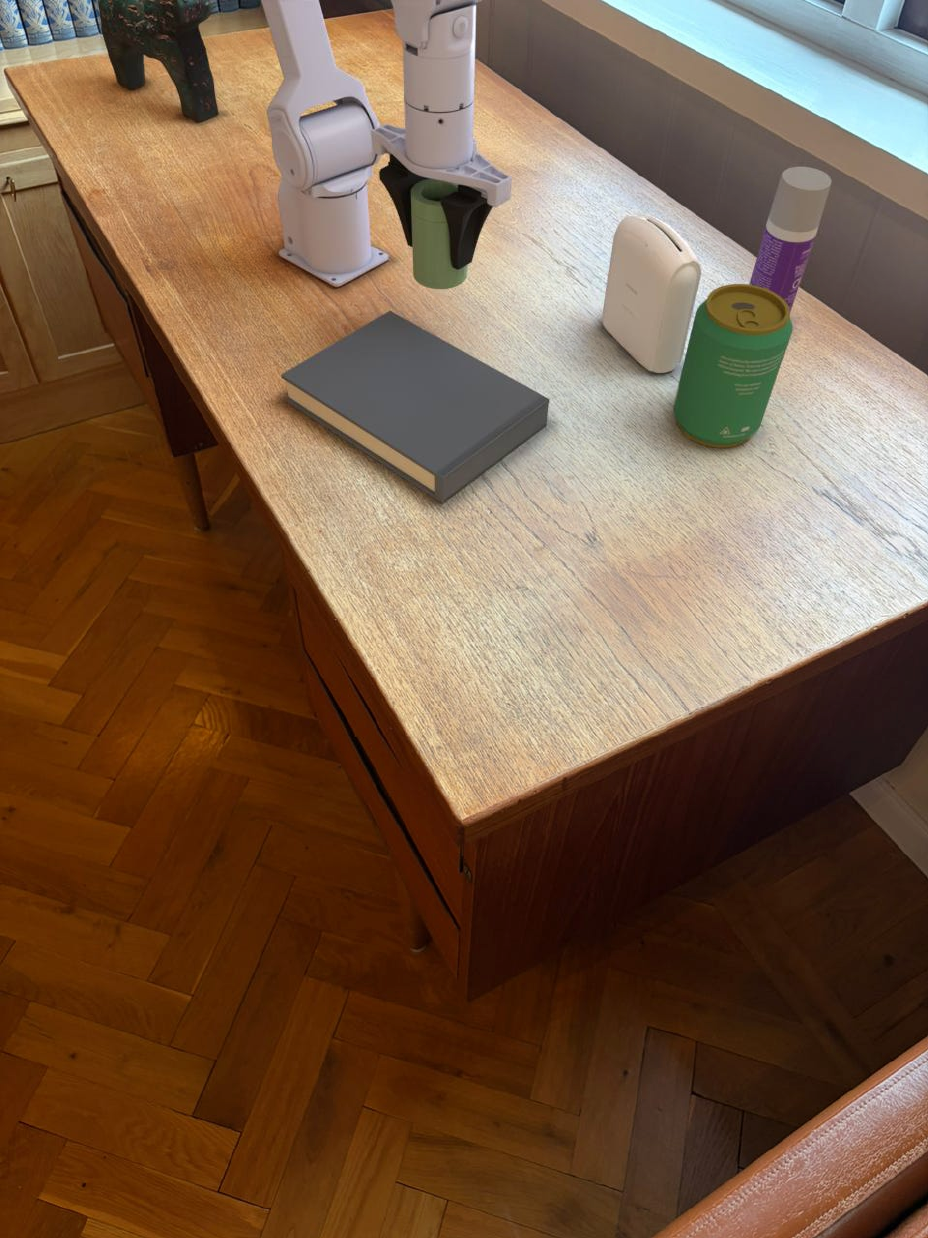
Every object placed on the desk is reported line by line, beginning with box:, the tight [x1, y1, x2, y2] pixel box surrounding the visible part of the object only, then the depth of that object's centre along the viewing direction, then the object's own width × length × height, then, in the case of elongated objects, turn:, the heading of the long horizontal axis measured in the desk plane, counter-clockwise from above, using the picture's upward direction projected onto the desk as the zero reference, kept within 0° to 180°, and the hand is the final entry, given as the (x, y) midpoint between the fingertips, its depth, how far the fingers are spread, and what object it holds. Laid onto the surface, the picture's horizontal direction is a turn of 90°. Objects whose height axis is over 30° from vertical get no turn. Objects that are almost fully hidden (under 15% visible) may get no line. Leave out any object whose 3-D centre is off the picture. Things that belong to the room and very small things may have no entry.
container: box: [748, 166, 832, 313], centre depth 90 cm, size 5×5×15 cm
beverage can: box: [672, 283, 794, 449], centre depth 82 cm, size 8×8×12 cm
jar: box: [411, 179, 469, 290], centre depth 86 cm, size 5×5×8 cm
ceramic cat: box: [97, 0, 219, 123], centre depth 118 cm, size 20×6×20 cm, turn 49°
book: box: [280, 310, 551, 505], centre depth 85 cm, size 20×14×3 cm
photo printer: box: [601, 212, 702, 374], centre depth 89 cm, size 10×4×12 cm, turn 26°
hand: (439, 253), depth 87 cm, fingers closed on jar, 5 cm apart
